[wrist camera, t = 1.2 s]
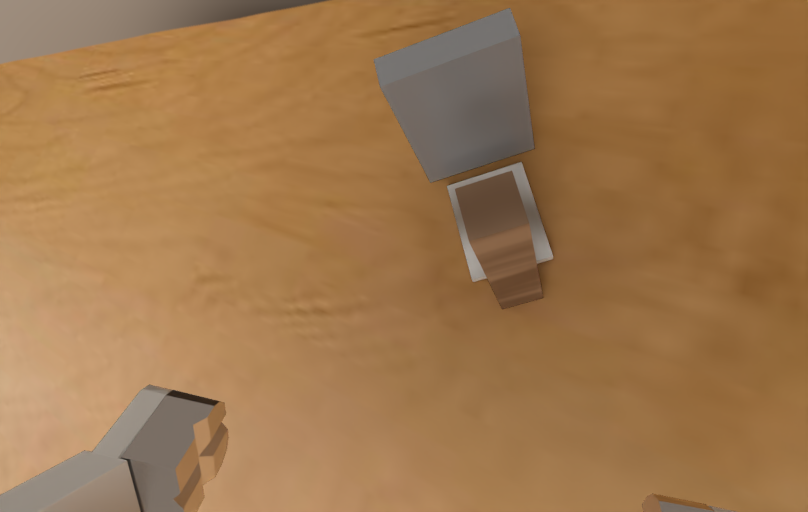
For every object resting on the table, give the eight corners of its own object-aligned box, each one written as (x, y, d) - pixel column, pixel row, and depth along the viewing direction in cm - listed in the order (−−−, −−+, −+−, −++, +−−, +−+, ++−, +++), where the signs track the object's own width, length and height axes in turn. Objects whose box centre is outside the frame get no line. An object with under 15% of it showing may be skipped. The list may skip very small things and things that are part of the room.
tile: (534, 148, 40) (520, 35, 29) (430, 182, 41) (380, 86, 31) (526, 124, 41) (509, 5, 30) (424, 159, 42) (373, 57, 31)
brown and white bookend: (564, 292, 36) (560, 213, 24) (482, 314, 37) (439, 250, 25) (522, 165, 40) (500, 45, 28) (448, 189, 41) (398, 82, 29)
